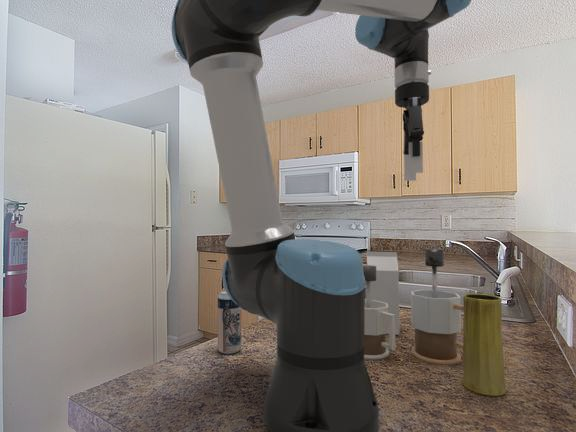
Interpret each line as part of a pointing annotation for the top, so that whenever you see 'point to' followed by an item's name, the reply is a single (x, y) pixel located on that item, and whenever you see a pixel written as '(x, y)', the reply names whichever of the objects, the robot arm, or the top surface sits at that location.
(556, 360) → the top surface
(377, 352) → the press cream
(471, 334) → the vase
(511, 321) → the top surface
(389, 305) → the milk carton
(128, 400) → the top surface
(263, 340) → the top surface
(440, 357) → the press copper
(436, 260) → the plunger
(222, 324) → the beer can
